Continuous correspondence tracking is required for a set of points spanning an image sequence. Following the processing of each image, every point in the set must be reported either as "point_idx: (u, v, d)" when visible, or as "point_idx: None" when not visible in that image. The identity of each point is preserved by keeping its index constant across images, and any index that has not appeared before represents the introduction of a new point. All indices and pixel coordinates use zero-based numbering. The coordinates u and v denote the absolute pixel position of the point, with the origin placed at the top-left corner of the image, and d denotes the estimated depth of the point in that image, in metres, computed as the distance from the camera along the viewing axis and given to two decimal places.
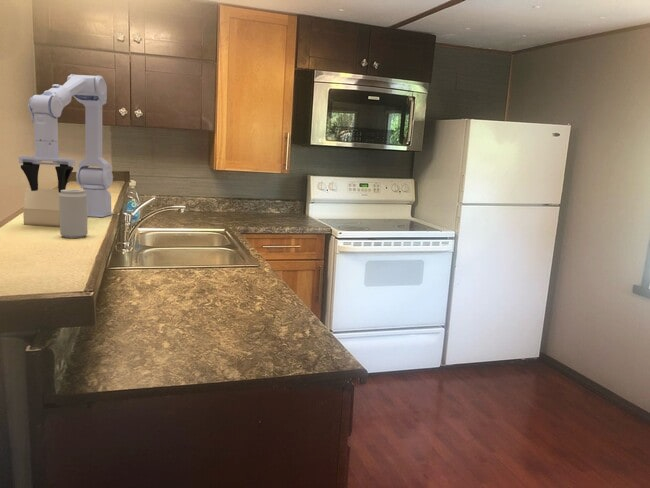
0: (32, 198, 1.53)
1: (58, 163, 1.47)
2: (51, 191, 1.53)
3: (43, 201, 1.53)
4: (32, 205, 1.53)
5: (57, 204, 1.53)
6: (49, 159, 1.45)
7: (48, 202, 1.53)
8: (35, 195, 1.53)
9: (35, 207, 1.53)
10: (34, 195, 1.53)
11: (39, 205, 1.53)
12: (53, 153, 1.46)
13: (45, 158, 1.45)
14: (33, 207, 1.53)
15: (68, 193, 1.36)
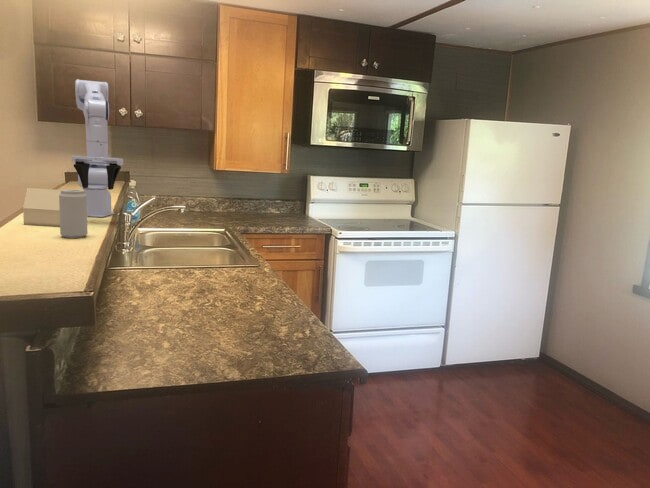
0: (32, 198, 1.54)
1: (108, 162, 1.60)
2: (52, 191, 1.54)
3: (43, 201, 1.53)
4: (32, 205, 1.53)
5: (57, 204, 1.53)
6: (100, 159, 1.57)
7: (48, 202, 1.53)
8: (36, 195, 1.54)
9: (35, 207, 1.53)
10: (35, 196, 1.54)
11: (39, 205, 1.53)
12: (104, 153, 1.58)
13: (97, 158, 1.57)
14: (33, 207, 1.53)
15: (68, 193, 1.36)
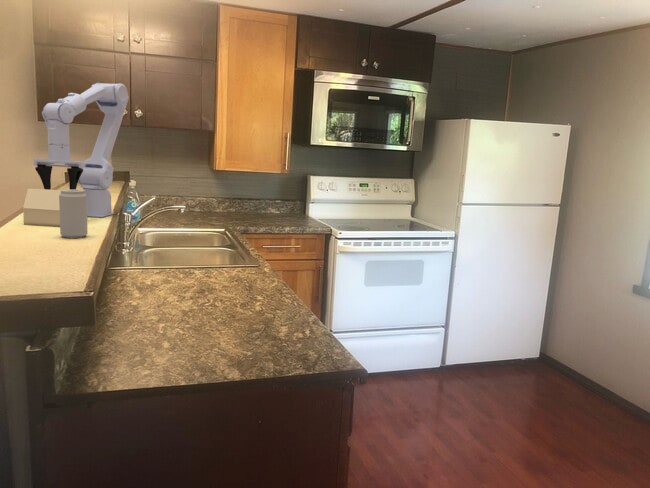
0: (33, 198, 1.54)
1: (69, 165, 1.60)
2: (53, 192, 1.54)
3: (44, 201, 1.53)
4: (32, 205, 1.53)
5: (58, 204, 1.53)
6: (61, 162, 1.58)
7: (49, 202, 1.53)
8: (36, 195, 1.54)
9: (35, 207, 1.53)
10: (35, 196, 1.54)
11: (39, 205, 1.53)
12: (65, 156, 1.59)
13: (58, 161, 1.58)
14: (33, 207, 1.53)
15: (68, 193, 1.36)
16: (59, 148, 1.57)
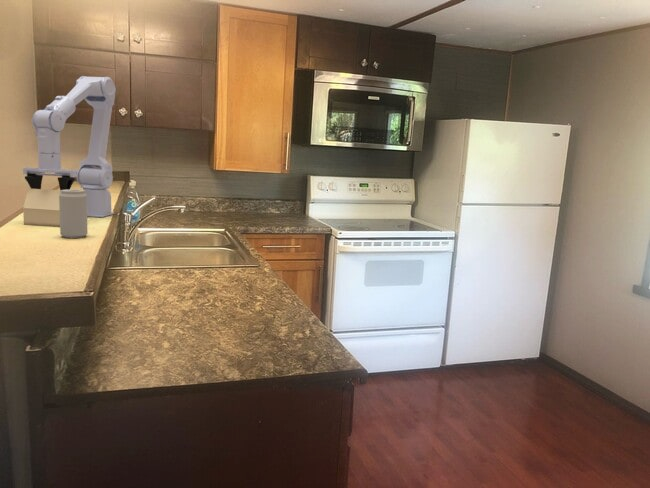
0: (33, 198, 1.54)
1: (60, 174, 1.56)
2: (53, 192, 1.54)
3: (44, 201, 1.53)
4: (32, 205, 1.53)
5: (58, 204, 1.53)
6: (52, 171, 1.53)
7: (49, 202, 1.53)
8: (36, 196, 1.54)
9: (35, 207, 1.53)
10: (36, 196, 1.54)
11: (39, 205, 1.53)
12: (56, 164, 1.54)
13: (48, 170, 1.53)
14: (33, 207, 1.53)
15: (68, 193, 1.36)
16: (49, 157, 1.53)
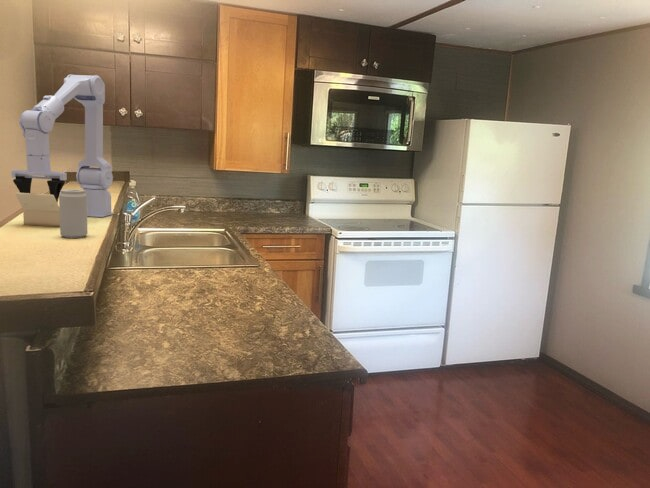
0: (26, 202, 1.51)
1: (50, 177, 1.50)
2: (42, 196, 1.49)
3: (39, 204, 1.51)
4: (30, 207, 1.52)
5: (54, 207, 1.51)
6: (41, 174, 1.48)
7: (45, 205, 1.51)
8: (28, 199, 1.50)
9: (34, 209, 1.53)
10: (28, 200, 1.50)
11: (37, 207, 1.52)
12: (45, 167, 1.49)
13: (37, 173, 1.48)
14: (32, 209, 1.53)
15: (68, 193, 1.36)
16: (38, 159, 1.47)
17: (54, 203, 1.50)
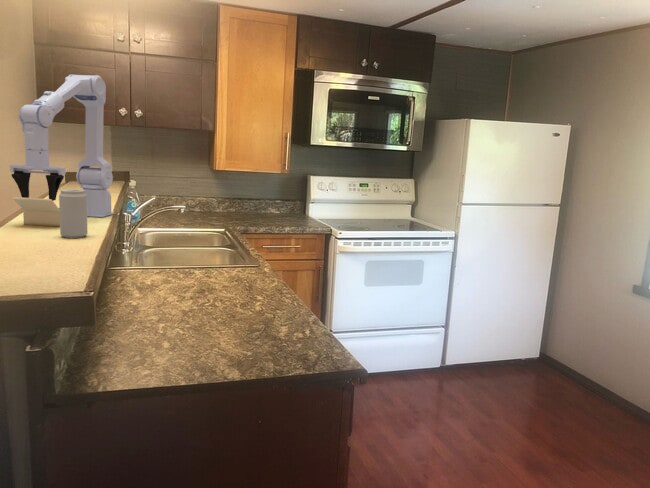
0: (25, 204, 1.50)
1: (49, 172, 1.49)
2: (40, 201, 1.48)
3: (38, 206, 1.51)
4: (30, 208, 1.52)
5: (54, 208, 1.51)
6: (40, 168, 1.47)
7: (44, 207, 1.51)
8: (27, 203, 1.50)
9: (34, 209, 1.53)
10: (26, 203, 1.50)
11: (37, 208, 1.52)
12: (44, 161, 1.48)
13: (36, 167, 1.47)
14: (32, 209, 1.53)
15: (68, 193, 1.36)
16: (37, 153, 1.46)
17: (53, 206, 1.50)
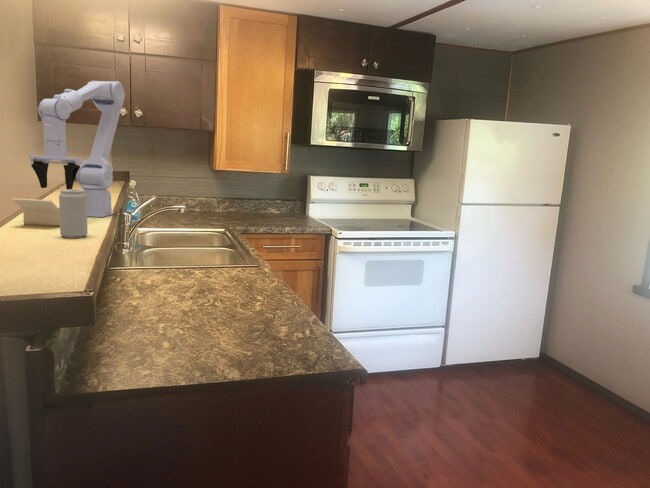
0: (25, 205, 1.50)
1: (66, 162, 1.58)
2: (40, 202, 1.48)
3: (38, 207, 1.51)
4: (30, 208, 1.52)
5: (54, 209, 1.51)
6: (58, 158, 1.56)
7: (44, 207, 1.51)
8: (27, 203, 1.50)
9: (34, 209, 1.53)
10: (26, 204, 1.50)
11: (37, 208, 1.52)
12: (62, 152, 1.57)
13: (54, 157, 1.56)
14: (32, 209, 1.53)
15: (68, 193, 1.36)
16: (55, 144, 1.55)
17: (53, 206, 1.50)
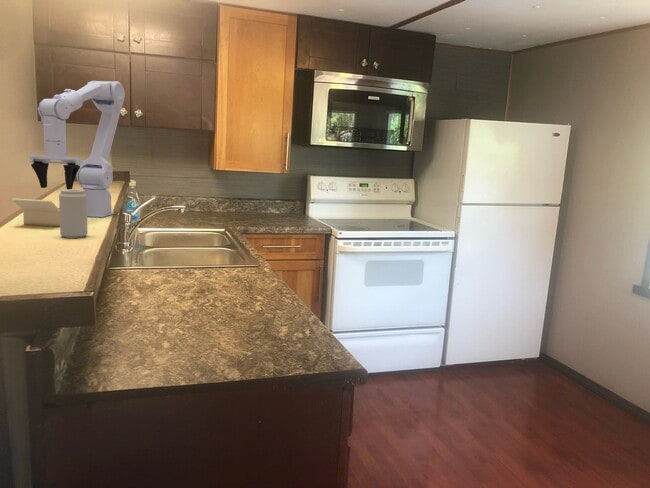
0: (25, 205, 1.50)
1: (66, 162, 1.58)
2: (40, 202, 1.48)
3: (38, 207, 1.51)
4: (30, 208, 1.52)
5: (54, 209, 1.51)
6: (58, 158, 1.56)
7: (44, 207, 1.51)
8: (27, 203, 1.50)
9: (34, 209, 1.53)
10: (26, 204, 1.50)
11: (37, 209, 1.52)
12: (62, 152, 1.57)
13: (54, 157, 1.56)
14: (32, 209, 1.53)
15: (68, 193, 1.36)
16: (55, 144, 1.55)
17: (53, 206, 1.50)
